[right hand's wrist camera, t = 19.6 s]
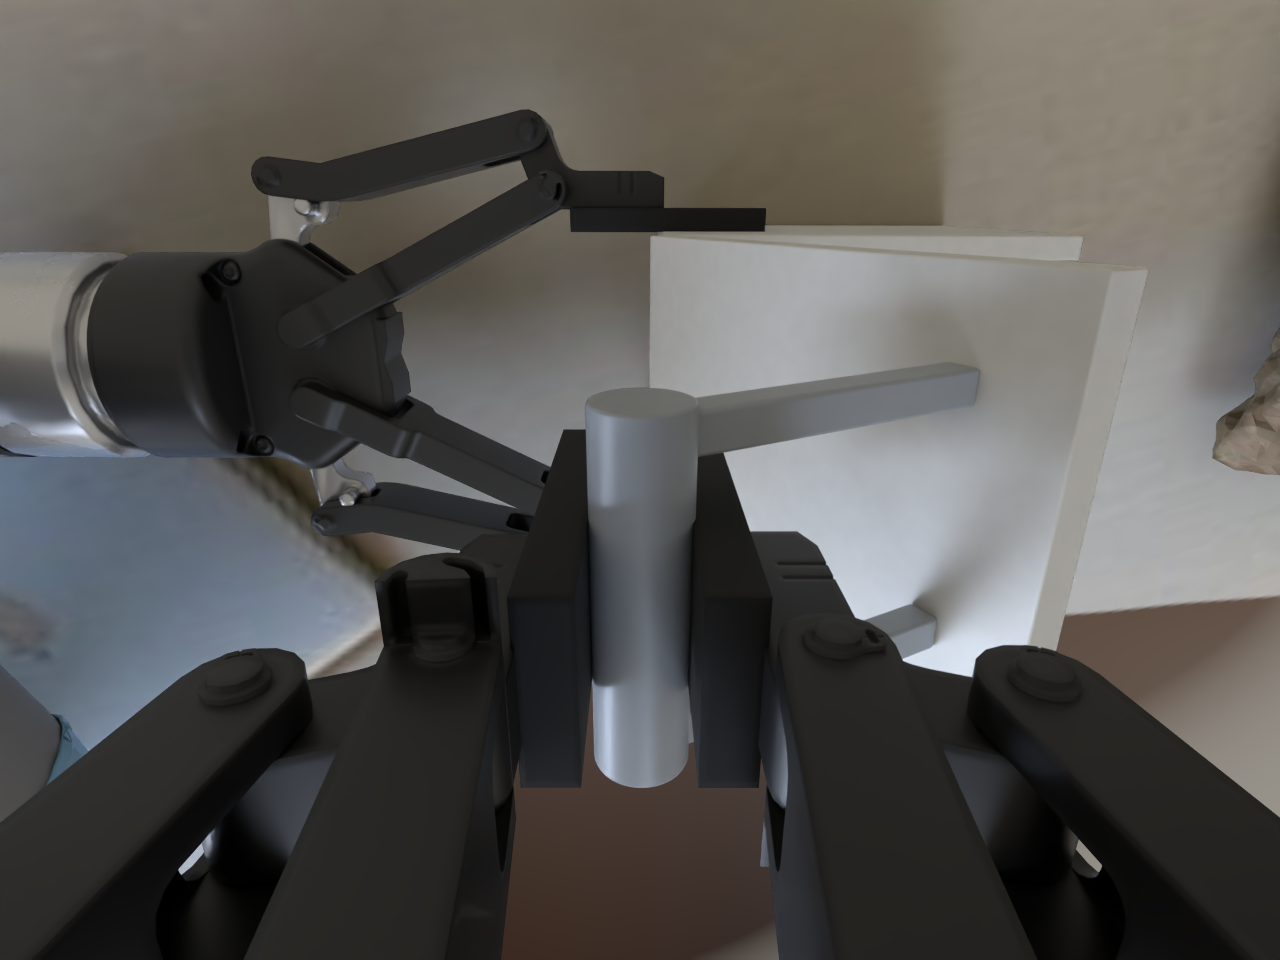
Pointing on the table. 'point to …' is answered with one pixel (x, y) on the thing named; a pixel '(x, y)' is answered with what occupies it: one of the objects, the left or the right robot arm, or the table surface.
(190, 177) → the table surface
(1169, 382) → the table surface
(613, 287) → the table surface
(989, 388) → the lid
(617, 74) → the table surface
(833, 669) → the right robot arm
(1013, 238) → the chest
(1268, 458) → the stone
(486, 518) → the left robot arm
